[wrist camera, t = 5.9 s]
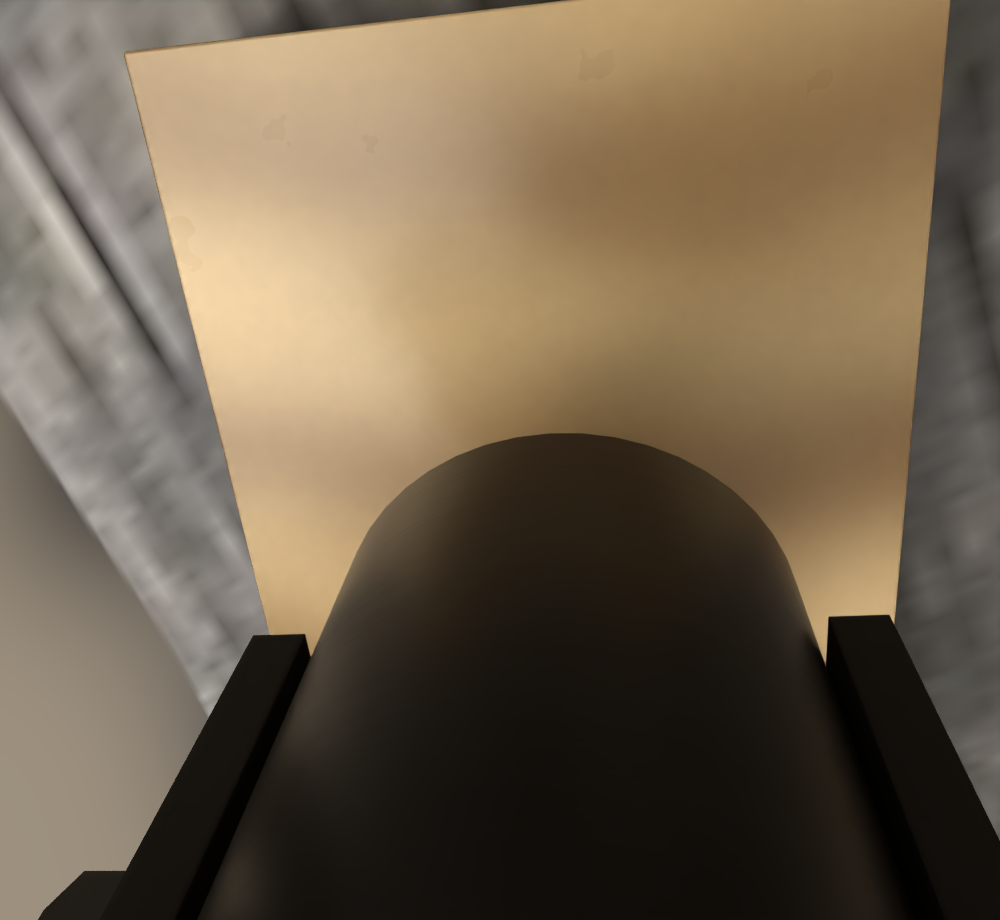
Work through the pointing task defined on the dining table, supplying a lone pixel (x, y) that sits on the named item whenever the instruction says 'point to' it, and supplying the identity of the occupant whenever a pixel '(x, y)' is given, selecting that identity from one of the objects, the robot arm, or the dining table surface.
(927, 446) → the dining table surface
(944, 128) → the dining table surface
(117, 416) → the dining table surface
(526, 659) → the tin
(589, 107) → the shelf rack
